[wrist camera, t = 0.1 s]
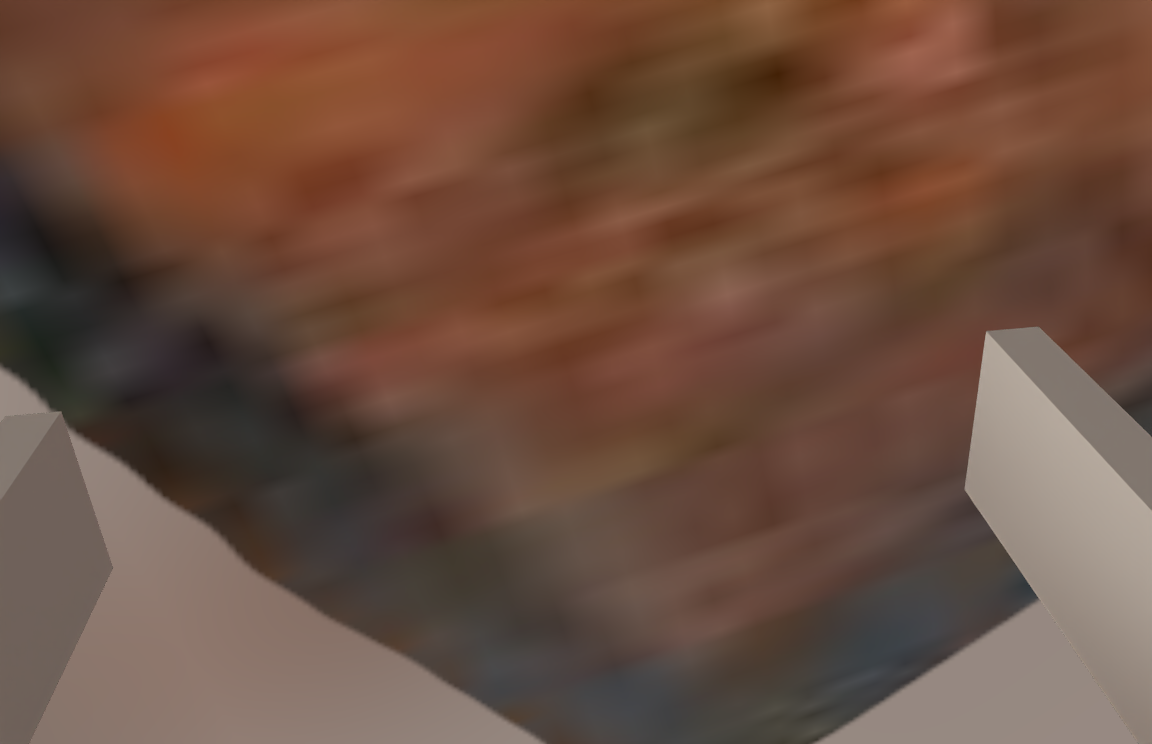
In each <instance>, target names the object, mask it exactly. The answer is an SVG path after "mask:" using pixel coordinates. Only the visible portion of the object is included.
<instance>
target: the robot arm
mask: <svg viewBox="0 0 1152 744" xmlns="http://www.w3.org/2000/svg"><path fill="white" fill-rule="evenodd" d="M965 491H966V492H967V494H968V495H969V497H970V498H971V500H972V501H973V502H974V504H975V505H976V507H977V508H978V510H979V511H980V513H981V514H982V516H983V517H984V519H985V520H986V522H987V523H988V524H989V526H990V527H991V529H992V530H993V532H994V533H995V535H996V536H997V538H998V539H999V541H1000V542H1001V543H1002V545H1003V546H1004V548H1005V549H1006V551H1007V552H1008V554H1009V555H1010V557H1011V558H1012V560H1013V561H1014V563H1015V564H1016V565H1017V567H1018V568H1019V570H1020V571H1021V573H1022V574H1023V576H1024V577H1025V579H1026V580H1027V582H1028V583H1029V584H1030V586H1031V587H1032V589H1033V590H1034V592H1035V593H1036V595H1037V596H1038V598H1039V599H1040V601H1041V602H1042V604H1043V605H1044V606H1045V608H1046V609H1047V611H1048V612H1049V614H1050V615H1051V617H1052V618H1053V620H1054V621H1055V623H1056V624H1057V625H1058V627H1059V628H1060V630H1061V631H1062V633H1063V634H1064V636H1065V637H1066V638H1067V640H1068V642H1069V643H1070V645H1071V646H1072V647H1073V649H1074V650H1075V652H1076V653H1077V655H1078V656H1079V658H1080V659H1081V661H1082V662H1083V664H1084V665H1085V667H1086V668H1087V669H1088V671H1089V672H1090V674H1091V675H1092V677H1093V678H1094V679H1095V681H1096V682H1097V684H1098V686H1099V687H1100V688H1101V690H1102V691H1103V693H1104V694H1105V696H1106V697H1107V699H1108V700H1109V701H1110V703H1111V705H1112V706H1113V708H1114V709H1115V710H1116V712H1117V713H1118V715H1119V716H1120V718H1121V719H1122V721H1123V722H1124V724H1125V725H1126V727H1127V728H1128V729H1129V731H1130V732H1131V734H1132V735H1133V737H1134V738H1135V740H1136V741H1137V743H1138V744H1152V437H1151V436H1150V435H1149V434H1148V433H1147V432H1146V431H1145V430H1144V429H1143V428H1142V427H1141V426H1140V425H1139V424H1138V423H1137V422H1136V421H1135V420H1134V419H1133V418H1132V417H1131V416H1130V415H1129V414H1127V413H1126V412H1125V411H1124V410H1123V409H1122V408H1121V407H1120V406H1119V405H1118V404H1117V403H1116V402H1115V401H1114V400H1113V399H1112V398H1111V397H1110V396H1109V395H1108V394H1107V393H1106V392H1105V391H1104V390H1103V389H1102V388H1101V387H1100V386H1099V385H1098V384H1097V383H1096V382H1095V381H1094V380H1093V379H1092V378H1091V377H1090V376H1089V375H1087V374H1086V373H1085V372H1084V371H1083V370H1082V369H1081V368H1080V367H1079V366H1078V365H1077V364H1076V363H1075V362H1074V361H1073V360H1072V359H1071V358H1070V357H1069V356H1068V355H1067V354H1066V353H1065V352H1064V351H1063V350H1062V349H1061V348H1060V347H1059V346H1058V345H1057V344H1056V343H1055V342H1054V341H1053V340H1052V339H1051V338H1050V337H1048V336H1047V335H1046V334H1045V333H1044V332H1043V331H1042V330H1041V329H1040V328H1039V327H1030V328H1019V329H1007V330H995V331H986V337H985V344H984V352H983V359H982V366H981V374H980V381H979V388H978V396H977V403H976V410H975V418H974V425H973V432H972V440H971V447H970V454H969V462H968V469H967V476H966V484H965ZM112 569H113V566H112V563H111V561H110V557H109V554H108V552H107V548H106V545H105V543H104V539H103V536H102V533H101V530H100V528H99V524H98V521H97V518H96V515H95V512H94V509H93V506H92V503H91V500H90V497H89V494H88V491H87V488H86V485H85V482H84V479H83V476H82V473H81V470H80V467H79V464H78V461H77V458H76V455H75V452H74V449H73V446H72V443H71V440H70V437H69V434H68V431H67V428H66V425H65V422H64V419H63V416H62V413H61V411H60V412H49V413H38V414H26V415H14V416H5V417H4V419H3V420H2V421H1V422H0V744H29V743H30V741H31V739H32V736H33V734H34V732H35V730H36V728H37V726H38V724H39V722H40V720H41V718H42V716H43V714H44V711H45V709H46V707H47V705H48V703H49V701H50V699H51V697H52V695H53V693H54V690H55V688H56V686H57V684H58V682H59V680H60V678H61V676H62V674H63V672H64V670H65V667H66V665H67V663H68V661H69V659H70V657H71V655H72V653H73V651H74V649H75V646H76V644H77V642H78V640H79V638H80V636H81V634H82V632H83V630H84V628H85V625H86V623H87V621H88V619H89V617H90V615H91V613H92V611H93V609H94V607H95V605H96V602H97V600H98V598H99V596H100V594H101V592H102V590H103V588H104V586H105V583H106V582H107V579H108V577H109V575H110V573H111V571H112Z"/></svg>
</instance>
